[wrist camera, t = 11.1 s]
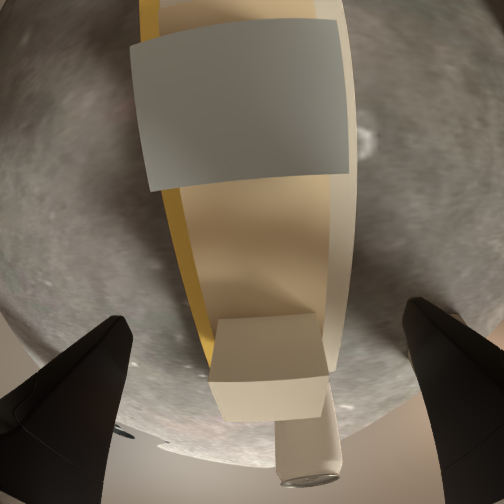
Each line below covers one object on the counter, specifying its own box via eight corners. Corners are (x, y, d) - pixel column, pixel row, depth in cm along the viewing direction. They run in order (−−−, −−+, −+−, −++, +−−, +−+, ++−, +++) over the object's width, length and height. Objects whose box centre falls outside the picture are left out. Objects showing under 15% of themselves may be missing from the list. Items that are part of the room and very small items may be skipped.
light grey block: (187, 163, 10) (150, 192, 7) (175, 66, 8) (129, 46, 5) (317, 151, 10) (349, 173, 6) (308, 52, 8) (336, 20, 4)
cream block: (230, 365, 16) (224, 421, 12) (218, 319, 14) (207, 381, 10) (312, 360, 15) (321, 416, 12) (315, 312, 13) (329, 375, 10)
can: (271, 401, 30) (272, 489, 19) (276, 372, 27) (279, 477, 16) (322, 399, 30) (334, 484, 19) (335, 370, 27) (354, 470, 16)
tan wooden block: (309, 345, 20) (315, 386, 17) (233, 350, 21) (229, 391, 17) (298, 20, 10) (311, -9, 6) (183, 32, 10) (157, 9, 7)
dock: (217, 354, 25) (213, 378, 23) (156, 6, 11) (139, -9, 9) (329, 347, 25) (335, 371, 22) (324, -11, 10) (334, -30, 8)
